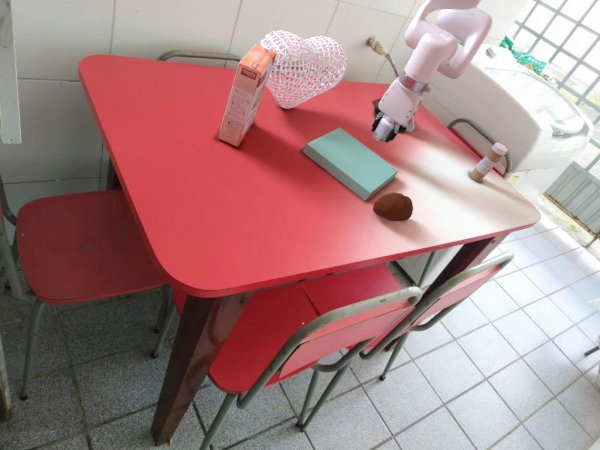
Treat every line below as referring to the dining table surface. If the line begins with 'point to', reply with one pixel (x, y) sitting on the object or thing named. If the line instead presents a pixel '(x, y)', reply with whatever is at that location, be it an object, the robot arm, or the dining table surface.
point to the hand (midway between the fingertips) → (381, 135)
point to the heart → (304, 44)
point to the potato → (393, 207)
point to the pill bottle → (384, 129)
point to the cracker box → (246, 94)
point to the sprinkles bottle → (488, 161)
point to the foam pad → (351, 162)
